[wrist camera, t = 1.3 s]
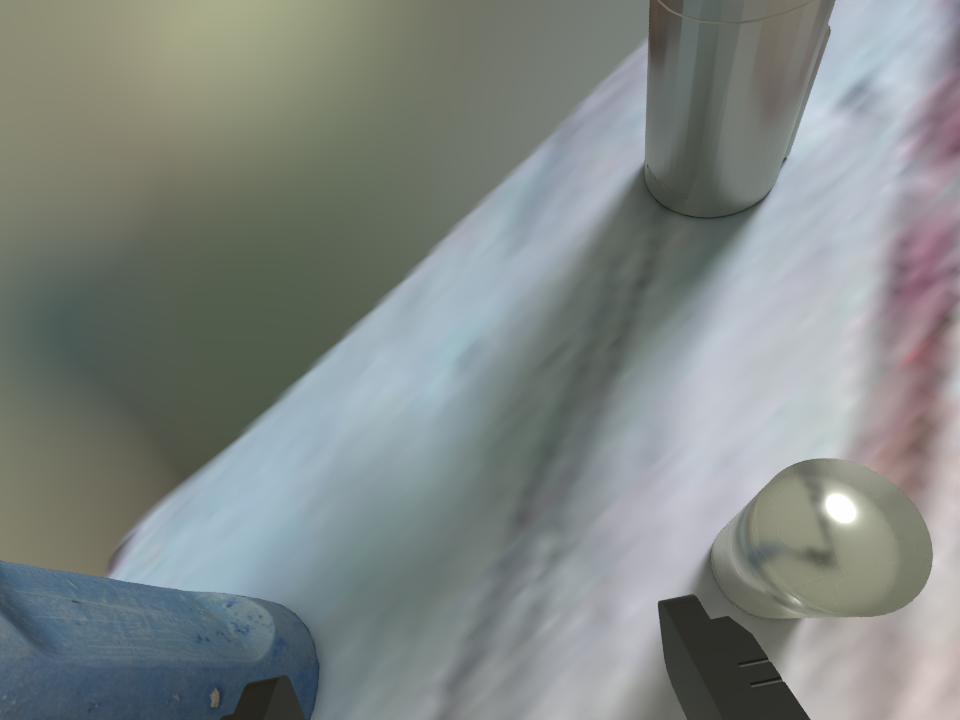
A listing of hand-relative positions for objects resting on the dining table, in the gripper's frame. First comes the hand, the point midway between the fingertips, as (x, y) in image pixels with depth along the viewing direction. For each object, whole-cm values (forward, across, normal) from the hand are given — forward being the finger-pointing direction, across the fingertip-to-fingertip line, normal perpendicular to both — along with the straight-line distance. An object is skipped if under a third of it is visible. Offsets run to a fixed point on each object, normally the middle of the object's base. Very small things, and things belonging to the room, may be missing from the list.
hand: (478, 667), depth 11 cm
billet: (+14, -14, +12) cm, 23 cm away
